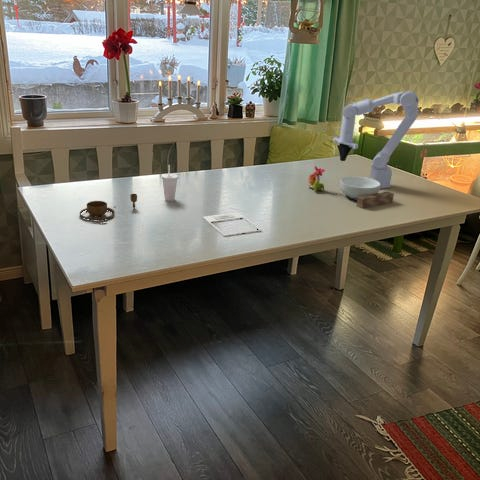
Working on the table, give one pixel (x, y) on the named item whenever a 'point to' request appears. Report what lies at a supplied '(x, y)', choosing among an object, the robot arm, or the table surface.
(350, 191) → the cereal bowl
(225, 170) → the table surface
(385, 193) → the block
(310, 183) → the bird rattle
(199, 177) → the table surface
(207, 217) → the photo frame
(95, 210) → the place setting
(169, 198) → the smoothie
